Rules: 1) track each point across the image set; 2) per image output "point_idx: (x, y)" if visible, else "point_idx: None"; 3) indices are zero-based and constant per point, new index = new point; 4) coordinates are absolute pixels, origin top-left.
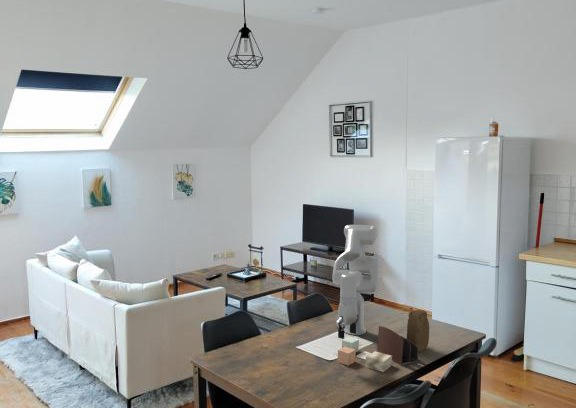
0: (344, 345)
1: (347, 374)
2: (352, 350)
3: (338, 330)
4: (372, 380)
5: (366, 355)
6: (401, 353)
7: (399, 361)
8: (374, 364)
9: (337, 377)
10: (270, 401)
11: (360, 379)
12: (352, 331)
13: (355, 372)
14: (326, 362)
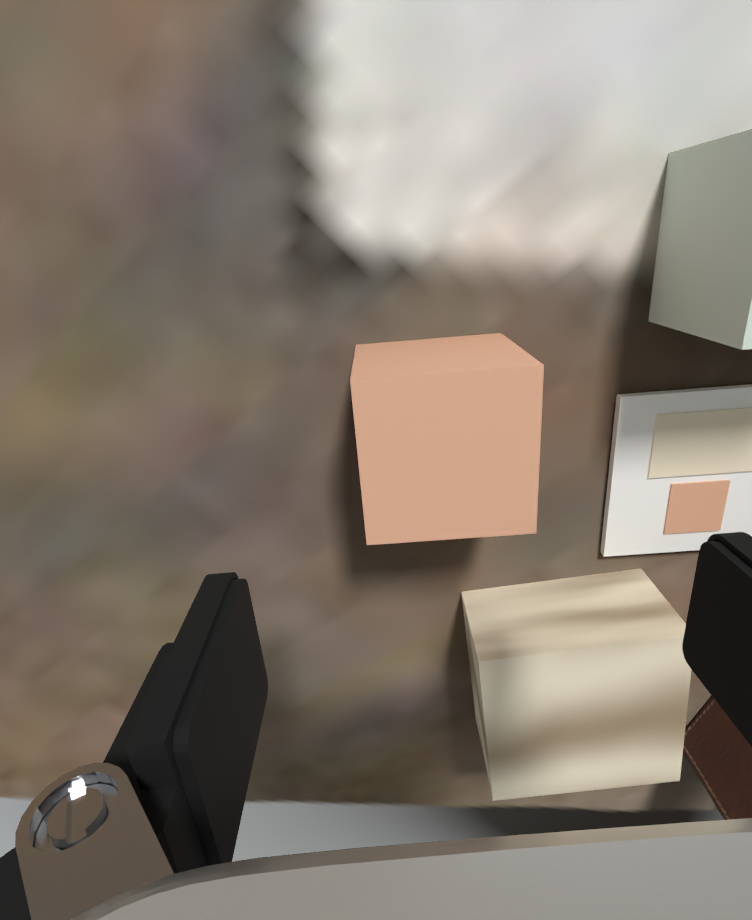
0: (718, 194)
1: None
2: (484, 523)
3: (147, 717)
4: (293, 741)
5: (699, 469)
6: None
7: (702, 749)
8: (476, 696)
9: (97, 562)
10: None
11: None
12: (712, 627)
13: (301, 600)
14: (246, 259)
